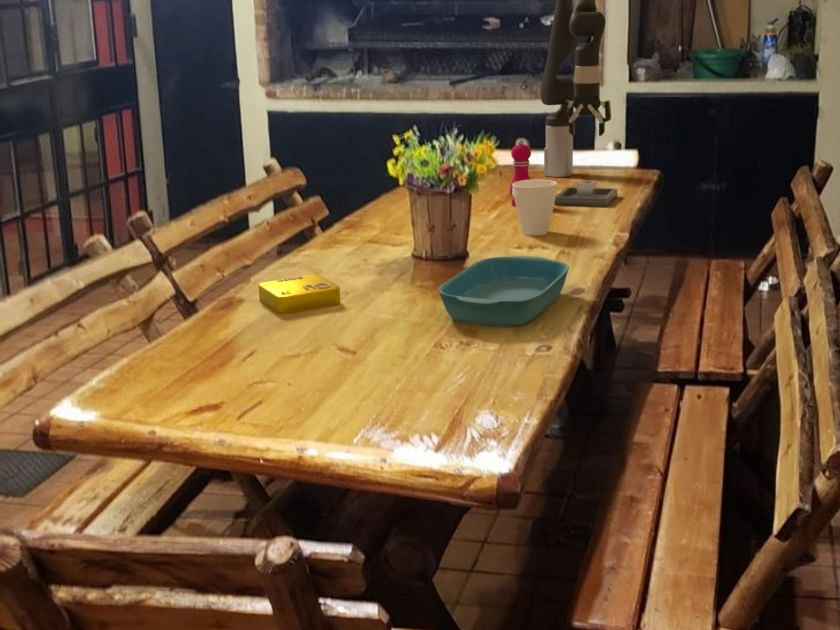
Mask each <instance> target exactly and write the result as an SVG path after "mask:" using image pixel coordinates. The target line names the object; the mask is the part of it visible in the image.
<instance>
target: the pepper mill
mask: <svg viewBox="0 0 840 630" xmlns="http://www.w3.org/2000/svg"><path fill="white" fill-rule="evenodd" d="M510 155H511V158H512V159H513V161H512V163H513V164H512V165H513V167H514V173H513V178H512V180H511V183H510V185H509V195H511V196H512V189H513V186H512V184H513V183H514V182H517V181H522V180H531V177H530V174H529V166H530V165H531V164H530V158H531V156H532V150H531V148H530V147H529V145H527V144H525V141H524V139H521V138H520V139H519V140H518V141H517V144H516V145H514V146H513V147H512V149H511V152H510ZM511 206H513V207H516V204H515V200H514V196H512V198H511Z"/></svg>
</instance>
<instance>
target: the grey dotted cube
mask: <svg viewBox="0 0 840 630" xmlns="http://www.w3.org/2000/svg"><path fill="white" fill-rule="evenodd" d="M576 187H577V197H596V188H597V180H583V179H581V180H579V181H577V182H576Z"/></svg>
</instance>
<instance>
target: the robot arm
mask: <svg viewBox="0 0 840 630" xmlns="http://www.w3.org/2000/svg"><path fill="white" fill-rule="evenodd" d="M606 24H607V23H606V17H605V16H604V14H603V12H601V11H598V9H597V3H596V0H571V1H570V0H556V3H555V9H554V15H553V19H552V25H551V31H550V35H549V44H548V45H549V47H548V53H547V58H546V59H547V60H546V64H545V68H544V71H543V76H542V80H541V85H540V95H539V96H540V100H541V103H542V104H543V105H545V106H559V105H560V107H559V108H558V109H557V111H555V112H553V113H552V114H549V115H547V116H546V117H545V147H544V149H543V152H544V153H543V154H544V155H543V163H544V164H543V166H544V167H543V172H544V174H543V175H544V177H545V176H546V177H553V178H555V177H556V178H563V177H564V178H565V177H570V176H573V175H574V153H573V152H574V147H573V146H574V142H573V141H574V136H575V135H576V122H575V121H576V119H577V118H578V116H594V118H596V120H597V121H598V122H599V123H598V136H599V137H602V136H603V135H604V134H605V131H606V127H605V125H606V123H607V122H609V121H611V120H612V110H611V101H610V99H608V100H603V101H602V100H601V98H600V94H601V93H600V92H601V91H600V88H601V86H600V85H601V83H600V82H601V80H600V79H601V78H600V77H601V76H600V75H601V74H600V73H601V72H600V48H601V42H602V39H603V36H604V35H603V34H604V31H605V29H606ZM581 37H582V38H583V37H588V38H589V37H592V39H591V40H590V42H588V43H584V44H579V40H580V39H579V38H581ZM573 53H575V54H574V56H575V57H574V58H575V59H574V61H575V62H574V63H575V65H574V75H573V76H574V77H573V78H572V77H570V76H558V75H559V72H560V70H561V68H562V67H563V65H564V64H565V63H566V61H568V59H569V58H571V56H572V55H573ZM601 106H602V108H603V109H604V115H605V116H603V114H602V112H601V111H600V110H599V108H600V107H601Z"/></svg>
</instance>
